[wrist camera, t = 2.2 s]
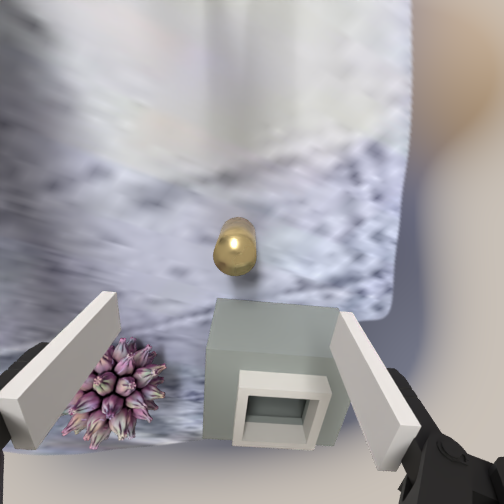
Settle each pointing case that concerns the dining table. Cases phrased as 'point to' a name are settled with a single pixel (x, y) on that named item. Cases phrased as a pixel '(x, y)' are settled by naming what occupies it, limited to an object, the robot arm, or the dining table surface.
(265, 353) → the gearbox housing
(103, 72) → the dining table surface
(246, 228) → the brass slug
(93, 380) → the flower
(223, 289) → the dining table surface
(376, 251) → the dining table surface
